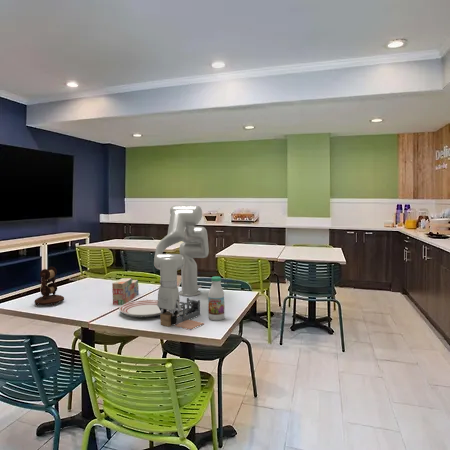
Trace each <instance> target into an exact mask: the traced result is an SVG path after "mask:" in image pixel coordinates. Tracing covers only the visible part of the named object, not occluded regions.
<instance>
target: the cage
mask: <svg viewBox="0 0 450 450" xmlns="http://www.w3.org/2000/svg"><path fill="white" fill-rule="evenodd" d="M192 302H195V303H198V310H197V309H196V310H195V312H190V313H188V314H185V310H187V309H189V308H190V307H191V306H193V304H191V303H192ZM180 306H181V308H182V310H181V311H180V312H182V311H183V316H182V322H184V321H186V320H188V319H190V320H192V319H194V317H195V318H197V317H199V316H201V300H200V299H198V300H196V301H195V299H190V298H189V297H187V298H186V302H184V301H180ZM196 316H197V317H196ZM191 318H192V319H191Z"/></svg>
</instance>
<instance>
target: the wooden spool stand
mask: <svg viewBox="0 0 450 450" xmlns="http://www.w3.org/2000/svg"><path fill="white" fill-rule="evenodd" d="M56 275H57V269H56V268H55V266H49V267H48V268H47V269H46V268H44V269H42V270H40V272H39V276H40V278H41V282H40V283H41V284H40V285H41V286H40V294H41V296H38V298H36V299H35V300H34V304H35V307H37V306H38V305H39V306H47V305H51V306H52V307H54V306H55V304H59V303H61V302H64V300H65V297H64V296H62V295H60V294H56V293H57V291H58V286H57V284H56V283H55V281H56Z"/></svg>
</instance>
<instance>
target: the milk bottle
mask: <svg viewBox="0 0 450 450" xmlns="http://www.w3.org/2000/svg"><path fill="white" fill-rule="evenodd" d="M210 279H211V286H210V288H209V291H208V295H207V296H208V297H207V298H208V299H207V300H208V301H207V302H208V304H207V305H208V307H207V308H208V309H207V312H208V315H207V316H208V319H209V320H212V321H222V320H224V319H225V292H224V289H223V287H222V285H221V282H222V277H221V276H212V277H211V278H210Z"/></svg>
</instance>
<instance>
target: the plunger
mask: <svg viewBox="0 0 450 450" xmlns="http://www.w3.org/2000/svg"><path fill="white" fill-rule="evenodd" d="M194 300H195V299H194ZM195 301H197V300H195ZM190 304H193V306H190V307H189V309H187V310H185V315H188V314H190V312H192V313H193V312H195V310H196V309H197V310H198V303H195V302H192V303H190ZM181 317H183V311H182V312H179V313H178V315H177V319H178V318H181Z"/></svg>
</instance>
